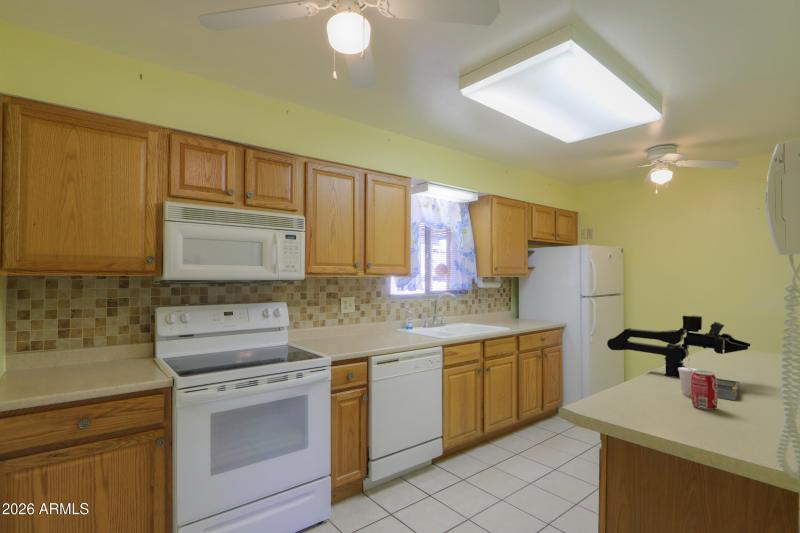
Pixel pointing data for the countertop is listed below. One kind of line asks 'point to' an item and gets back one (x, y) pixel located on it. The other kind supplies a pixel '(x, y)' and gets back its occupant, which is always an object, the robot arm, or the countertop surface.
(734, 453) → the countertop surface
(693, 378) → the soda can
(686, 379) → the white cup
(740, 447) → the countertop surface
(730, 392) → the frame
